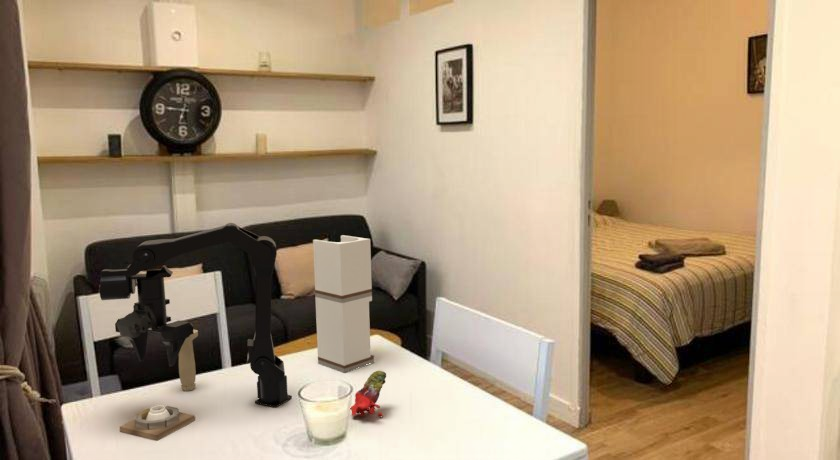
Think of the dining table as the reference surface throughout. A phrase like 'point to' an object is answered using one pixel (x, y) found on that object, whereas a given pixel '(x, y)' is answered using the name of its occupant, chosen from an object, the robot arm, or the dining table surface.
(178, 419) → the hub plate
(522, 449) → the dining table surface
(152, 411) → the white jar
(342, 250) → the stacked square vase
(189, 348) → the handle
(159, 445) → the dining table surface
